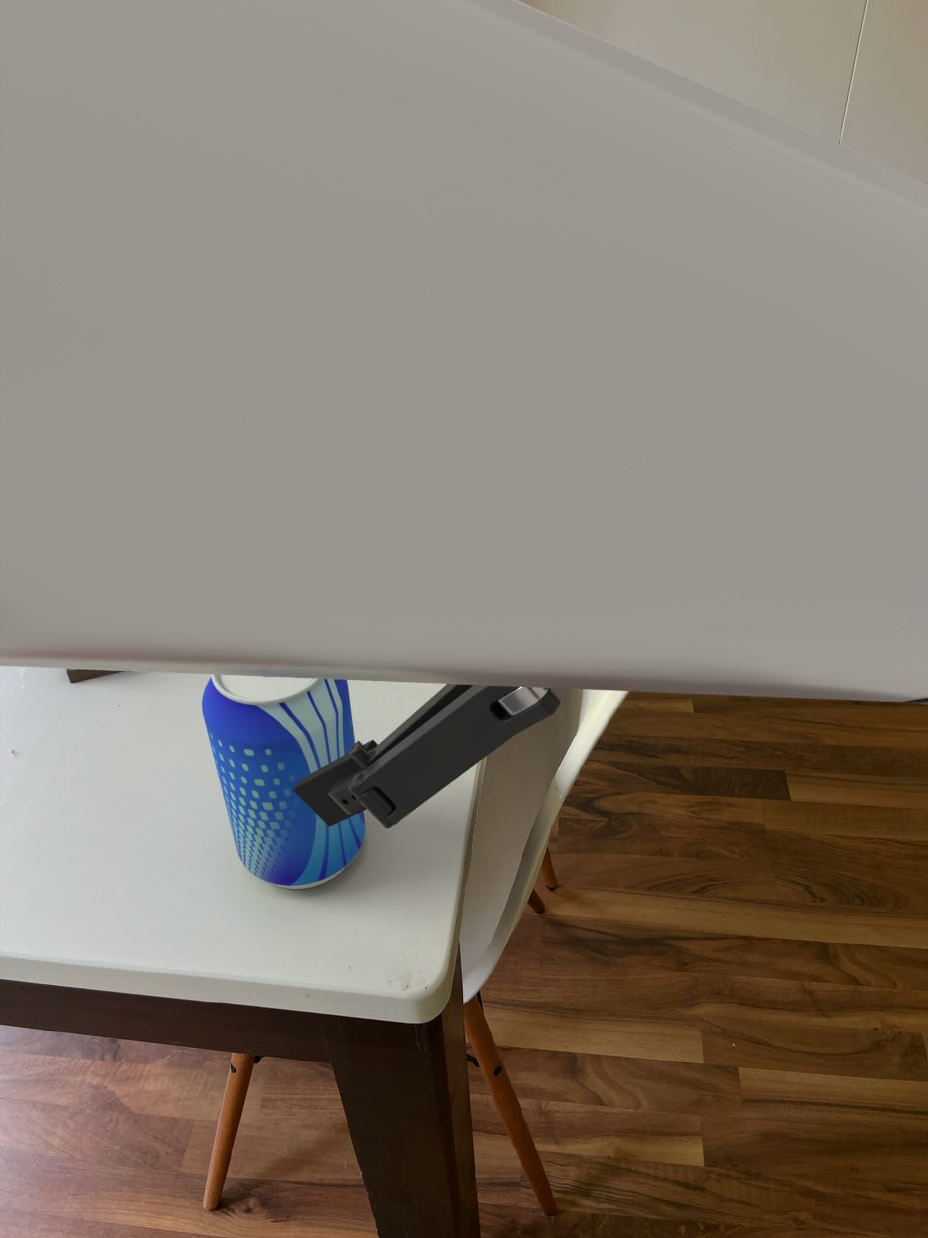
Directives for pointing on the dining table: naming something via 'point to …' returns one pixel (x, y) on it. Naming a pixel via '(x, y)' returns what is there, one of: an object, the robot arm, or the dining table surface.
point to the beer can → (281, 772)
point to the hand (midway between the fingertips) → (379, 718)
